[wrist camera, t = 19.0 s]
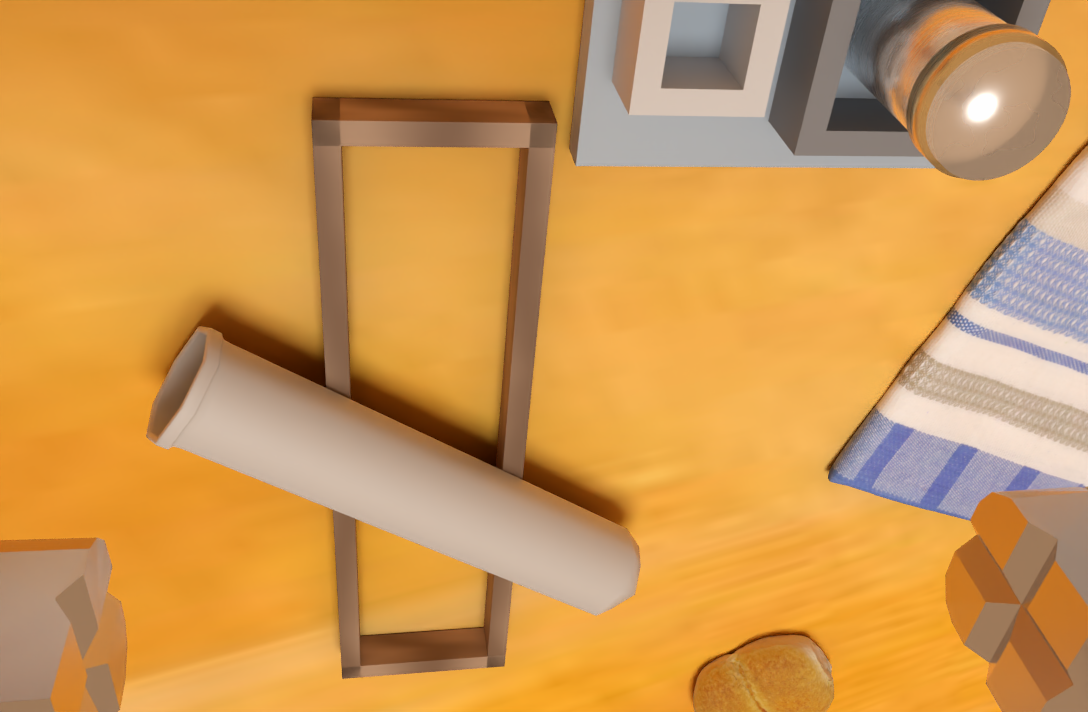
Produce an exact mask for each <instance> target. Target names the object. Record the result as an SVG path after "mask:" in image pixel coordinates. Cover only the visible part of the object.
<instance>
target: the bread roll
mask: <svg viewBox="0 0 1088 712" xmlns="http://www.w3.org/2000/svg"><path fill="white" fill-rule="evenodd" d="M831 668H832V666H831V664H830V663H829V661H828V659H827V658H826V656H825V654H824V653H823V651H822V650H821V649H820V648H819V647H818V646H817V645H816V643H814V642H813V641H812V640H811V639H809V638H808V637H805V636H801V635H779V636H770V637H765V638H762V639H759V640H756V641H754V642H751V643H749V644H747V645H745V646H744V647H742V648H740V649H738V650H737V651H736V652H734V653H733V654H727V655H724V656H721V657H719V658H717V659H715V660H714V661H712V662H710V663H709V664H708V665H706V666H705V667H704V668H703V669H702V671H701V672H700V674H699V676H698V678H697V682H696V685H695V689H694V694H693V706H694V711H695V712H826V711H827V710H828V708H829V706H830V704H831V703H832V701H833V699H834V685H833V678H832V675H831Z"/></svg>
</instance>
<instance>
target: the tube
mask: <svg viewBox="0 0 1088 712" xmlns="http://www.w3.org/2000/svg"><path fill="white" fill-rule="evenodd" d="M146 436H147V438H148V439H149V440H151V441H152V442H153V443H154V444H156V445H157V446H160V447H163V448H165V449H169V448H170V447H173V446H174V447H178V448H181V449H184V450H186V451H189V452H191V453H194V454H196V455H199V456H201V457H204V458H206V459H208V460H211V461H213V462H216V463H218V464H221V465H223V466H226V467H228V468H231V469H233V470H236V471H238V472H241V473H243V474H246V475H248V476H251V477H253V478H256V479H258V480H261V481H263V482H266V483H268V484H271V485H273V486H276V487H278V488H280V489H283V490H285V491H288V492H290V493H293V494H295V495H298V496H300V497H303V498H305V499H308V500H310V501H313V502H315V503H318V504H320V505H323V506H325V507H328V508H330V509H333V510H335V511H338V512H340V513H343V514H345V515H348V516H350V517H352V518H355V519H357V520H360V521H362V522H365V523H367V524H370V525H372V526H375V527H377V528H380V529H382V530H385V531H387V532H390V533H392V534H395V535H397V536H400V537H402V538H405V539H407V540H410V541H412V542H415V543H417V544H419V545H422V546H424V547H427V548H429V549H432V550H434V551H437V552H439V553H442V554H444V555H447V556H449V557H452V558H454V559H457V560H459V561H462V562H464V563H467V564H469V565H472V566H474V567H477V568H479V569H482V570H484V571H487V572H489V573H491V574H494V575H496V576H499V577H501V578H504V579H506V580H509V581H511V582H514V583H516V584H519V585H521V586H524V587H526V588H529V589H531V590H534V591H536V592H539V593H541V594H544V595H546V596H549V597H551V598H554V599H556V600H558V601H561V602H563V603H566V604H568V605H571V606H573V607H576V608H578V609H581V610H583V611H586V612H588V613H591V614H593V615H599V614H601V613H603V612H605V611H607V610H610V609H612V608H613V607H615V606H617V605H618V604H620V603H622V602H623V601H625V600H627V599H628V598H630V597H631V596H633V595H635V591H636V586H637V581H638V576H639V571H640V554H639V546H638V545H637V543H636V542H635V540H634V539H633V537H632V536H631V534H630V533H629V531H628V530H627V528H624V527H622V526H620V525H618V524H616V523H614V522H612V521H609V520H607V519H605V518H603V517H601V516H599V515H597V514H595V513H592V512H590V511H588V510H586V509H584V508H582V507H580V506H577V505H575V504H573V503H571V502H569V501H567V500H565V499H562V498H560V497H558V496H556V495H554V494H552V493H550V492H547V491H545V490H543V489H541V488H539V487H537V486H535V485H532V484H530V483H528V482H526V481H524V480H522V479H520V478H518V477H515V476H513V475H511V474H509V473H507V472H505V471H503V470H500V469H498V468H496V467H494V466H492V465H490V464H488V463H485V462H483V461H481V460H479V459H477V458H475V457H473V456H470V455H468V454H466V453H464V452H462V451H460V450H458V449H455V448H453V447H451V446H449V445H447V444H445V443H443V442H440V441H438V440H436V439H434V438H432V437H430V436H428V435H426V434H423V433H421V432H419V431H417V430H415V429H413V428H411V427H408V426H406V425H404V424H402V423H400V422H398V421H396V420H393V419H391V418H389V417H387V416H385V415H383V414H381V413H378V412H376V411H374V410H372V409H370V408H368V407H366V406H363V405H361V404H359V403H357V402H355V401H353V400H351V399H348V398H346V397H344V396H342V395H340V394H338V393H336V392H334V391H331V390H329V389H327V388H325V387H323V386H321V385H319V384H316V383H314V382H312V381H310V380H308V379H306V378H304V377H301V376H299V375H297V374H295V373H293V372H291V371H289V370H286V369H284V368H282V367H280V366H278V365H276V364H274V363H271V362H269V361H267V360H265V359H263V358H261V357H259V356H257V355H254V354H252V353H250V352H248V351H246V350H244V349H242V348H239V347H237V346H235V345H233V344H231V343H229V342H227V341H226V340H224V339H223V336H222V333H220V332H218V331H216V330H214V329H212V328H208V327H203V326H198V328H197V329H196V330H195V332H194V333H193V335H192V336H191V338H190V339H189V340H188V342H187V343H186V345H185V346H184V347H183V349H182V350H181V352H180V353H179V354H178V356H177V357H176V359H175V360H174V362H173V364H172V366H171V368H170V370H169V372H168V374H167V376H166V378H165V380H164V382H163V384H162V386H161V388H160V390H159V392H158V394H157V396H156V398H155V400H154V402H153V405H152V410H151V415H150V420H149V425H148V429H147V434H146Z"/></svg>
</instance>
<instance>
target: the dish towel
mask: <svg viewBox="0 0 1088 712" xmlns="http://www.w3.org/2000/svg"><path fill="white" fill-rule="evenodd" d="M828 479H829V481H831V482H833V483H837V484H842V485H847V486H850V487H853V488H856V489H859V490H863V491H866V492H869V493H872V494H874V495H877V496H880V497H884V498H887V499H890V500H894V501H897V502H901V503H904V504H908V505H911V506H915V507H919V508H922V509H926V510H931V511H935V512H939V513H943V514H946V515H950V516H954V517H958V518H962V519H966V520H970V519H971V517H972V515H973V513H974V511H975V509H976V507H977V505H978V503H979V501H981V500H982V499H983V498H985V497H986V496H987V495H989V494H990V493H991V492H1000V491H1016V490H1032V489H1049V488H1065V487H1082V488H1084V487H1088V145H1087V146H1086V147H1085V148H1084V149H1083V150H1082V151H1081V153H1080V154H1079V155H1078V156H1077V157H1076V158H1075V159H1074V160H1073V161H1072V163H1071V164H1070V165H1069V166H1068V167H1067V168H1066V170H1065V171H1064V172H1063V173H1062V174H1061V175H1060V176H1059V177H1058V179H1057V180H1056V181H1055V183H1054V184H1053V185H1052V186H1051V187H1050V189H1049V190H1048V191H1047V192H1046V193H1045V194H1044V195H1043V197H1042V198H1041V199H1040V200H1039V201H1038V202H1037V204H1036V205H1035V206H1034V207H1033V209H1032V210H1031V211H1030V212H1029V213H1028V214H1027V215H1026V216H1025V217H1024V218H1023V219H1022V220H1021V221H1020V222H1019V223H1018V224H1017V226H1016V227H1015V228H1014V229H1013V230H1012V232H1011V233H1010V234H1009V235H1008V236H1007V237H1006V238H1005V240H1004V241H1003V242H1002V243H1001V245H1000V246H999V247H998V248H997V249H996V250H995V252H994V253H993V254H992V256H991V257H990V258H989V259H988V260H987V262H986V263H985V264H984V266H983V267H982V268H981V270H980V271H979V272H978V273H977V274H976V276H975V277H974V278H973V280H972V281H971V283H970V284H969V286H968V287H967V288H966V289H965V291H964V292H963V294H962V295H961V297H960V298H959V300H958V301H957V303H956V304H955V305H954V307H953V308H952V309H951V311H950V312H949V313H948V315H947V316H946V317H945V319H944V320H943V321H942V322H941V324H940V325H939V326H938V327H937V328H936V330H935V331H934V332H933V333H932V334H931V336H930V337H929V338H928V339H927V340H926V342H925V343H924V344H923V345H922V346H921V347H920V348H919V349H918V350H917V352H916V353H915V354H914V355H913V356H912V358H911V359H910V360H909V361H908V363H907V364H906V365H905V367H904V368H903V369H902V370H901V372H900V374H899V376H898V377H897V378H896V380H895V381H894V383H893V384H892V385H891V387H890V388H889V389H888V391H887V392H886V393H885V395H884V396H883V397H882V398H881V400H880V401H879V402H878V403H877V405H876V406H875V407H874V408H873V409H872V411H871V412H870V413H869V415H868V416H867V417H866V419H865V420H864V421H863V423H862V424H861V426H860V427H859V428H858V430H857V431H856V432H855V434H854V435H853V436H852V438H851V439H850V440H849V442H848V443H847V445H846V446H845V447H844V449H843V450H842V452H841V453H840V454H839V456H838V457H837V459H836V461H835V462H834V464H833V465H832V467H831V469H830V470H829V474H828Z"/></svg>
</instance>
